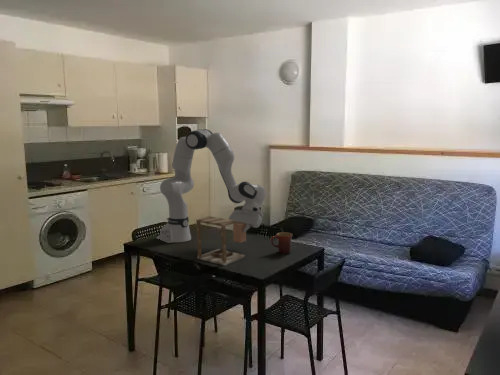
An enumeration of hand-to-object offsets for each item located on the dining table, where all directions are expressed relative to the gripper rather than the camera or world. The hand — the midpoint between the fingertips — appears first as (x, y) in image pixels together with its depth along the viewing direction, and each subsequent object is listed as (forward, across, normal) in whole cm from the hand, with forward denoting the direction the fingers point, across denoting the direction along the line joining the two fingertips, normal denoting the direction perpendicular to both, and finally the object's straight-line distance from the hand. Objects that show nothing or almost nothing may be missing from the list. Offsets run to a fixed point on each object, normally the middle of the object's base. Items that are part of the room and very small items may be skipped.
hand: (239, 230), depth 237 cm
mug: (0, +21, +16) cm, 26 cm away
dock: (+19, 0, -3) cm, 19 cm away
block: (+4, 0, +5) cm, 6 cm away
